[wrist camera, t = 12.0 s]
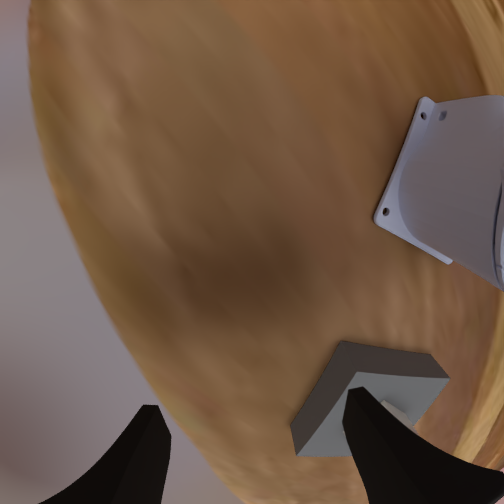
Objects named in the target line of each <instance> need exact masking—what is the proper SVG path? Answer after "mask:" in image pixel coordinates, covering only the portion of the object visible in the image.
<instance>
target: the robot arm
mask: <svg viewBox="0 0 504 504" xmlns="http://www.w3.org/2000/svg"><path fill="white" fill-rule="evenodd" d="M421 113H422V114H423V119H422V118H421ZM384 208H386V209H387V212H386V214H384V215H383V213H382V212H383V209H384ZM374 222H375V224H376V225H378V226H380V227H382V228H383V229H385V230H387V231H389V232H391V233H393V234H395V235H397V236H398V237H400V238H402V239H404V240H406V241H408V242H409V243H411V244H413V245H415V246H417V247H418V248H420V249H422V250H424V251H425V252H427V253H429V254H430V255H432V256H434V257H436V258H437V259H439V260H441V261H442V262H444V263H446V264H451V263H452V261H455V262H457V263H458V264H460V265H462V266H464V267H465V268H467V269H469V270H470V271H472V272H473V273H475V274H477V275H478V276H480V277H482V278H483V279H485V280H486V281H488V282H489V283H491V284H493V285H494V286H496V287H497V288H499V289H500V290H502V291H503V292H504V96H500V95H486V96H478V97H471V98H464V99H458V100H451V101H445V102H440V103H435V102H433V101H432V100H431V99H430V98H428V97H422V98H420V100H419V103H418V106H417V109H416V112H415V115H414V117H413V120H412V123H411V126H410V129H409V132H408V134H407V137H406V140H405V142H404V145H403V148H402V150H401V153H400V155H399V158H398V160H397V163H396V165H395V168H394V170H393V173H392V175H391V178H390V180H389V182H388V185H387V187H386V189H385V192H384V194H383V196H382V199H381V201H380V203H379V205H378V208H377V210H376V212H375V214H374ZM342 424H343V428H344V432H345V436H346V440H347V443H348V446H349V448H350V451H351V453H352V456H353V459H354V461H355V463H356V466H357V468H358V471H359V473H360V476H361V478H362V481H363V483H364V486H365V489H366V492H367V496H368V500H369V504H495V503H496V502H497V501H498V500H499V499H501V498H502V497H503V496H504V473H503V472H501V471H497V470H492V469H488V468H484V467H480V466H477V465H474V464H471V463H468V462H466V461H463V460H461V459H459V458H457V457H454V456H452V455H450V454H448V453H446V452H444V451H442V450H440V449H438V448H437V447H435V446H433V445H432V444H430V443H429V442H427V441H426V440H424V439H423V438H421V437H420V436H418V435H417V434H416V433H414V432H413V431H412V430H410V429H409V428H408V427H407V426H405V425H404V424H403V423H402V422H401V421H399V420H398V419H397V418H396V417H395V416H394V415H393V414H391V413H390V412H389V411H388V410H387V409H386V408H385V407H384V406H383V405H382V404H381V403H380V402H379V401H378V400H377V399H376V398H375V397H374V396H373V395H372V394H371V393H370V392H369V391H368V390H367V389H366V388H365V387H363V386H362V387H357V388H353V389H348V393H347V399H346V404H345V409H344V414H343V419H342ZM170 450H171V434H170V432H169V429H168V427H167V425H166V423H165V420H164V418H163V416H162V413H161V411H160V409H159V406H158V405H143V406H142V407H141V408H140V409H139V411H138V412H137V414H136V415H135V416H134V418H133V419H132V420H131V422H130V423H129V425H128V426H127V427H126V428H125V430H124V431H123V432H122V434H121V435H120V436H119V437H118V439H117V440H116V441H115V442H114V444H113V445H112V446H111V447H110V448H109V449H108V451H107V452H106V453H105V454H104V455H103V456H102V457H101V459H100V460H98V461H97V462H96V464H95V465H94V466H92V467H91V468H90V469H89V470H88V471H87V472H86V473H85V474H84V475H82V476H81V477H80V478H79V479H77V480H76V481H75V482H74V483H72V484H71V485H70V486H68V487H67V488H65V489H64V490H63V491H61V492H59V493H57V494H56V495H54V496H52V497H51V498H49V499H47V500H45V501H43V502H41V503H39V504H161V500H162V495H163V490H164V484H165V480H166V475H167V470H168V465H169V460H170Z"/></svg>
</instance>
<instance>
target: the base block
mask: <svg viewBox="0 0 504 504" xmlns="http://www.w3.org/2000/svg"><path fill="white" fill-rule="evenodd" d="M449 380H450V377H449V376H448V375H447V374H446V372H445V371H444V370H443V369H442V367H441V366H440V365H439V364H438V363H437V361H436V360H435V359H434V358H433V357H432V356H431V355H430V354H422V353H415V352H407V351H400V350H394V349H387V348H381V347H374V346H368V345H363V344H357V343H351V342H346V341H340V343H339V345H338V347H337V349H336V351H335V352H334V354H333V356H332V358H331V360H330V361H329V363H328V365H327V367H326V369H325V370H324V372H323V374H322V376H321V377H320V379H319V381H318V382H317V384H316V386H315V387H314V389H313V391H312V392H311V394H310V396H309V397H308V399H307V400H306V402H305V404H304V405H303V407H302V408H301V410H300V411H299V413H298V415H297V416H296V418H295V419H294V421H293V422H292V424H291V425H290V426H291V431H292V437H293V442H294V447H295V452H296V456H312V457H335V456H352V453H351V451H350V448H349V446H348V443H347V440H346V437H345V435H344V432H343V431H344V428H343V424H342V419H343V414H344V409H345V404H346V399H347V393H348V389H353V388H357V387H362V386H363V387H365V388H366V389H367V390H368V391H369V392H370V393H371V394H372V395H373V396H374V397H375V398H376V399H377V400H378V401H379V402H380V403H381V402H382V401H383V400H385V401H387V402H388V403H390V404H391V405H393V406H394V407H396V408H397V409H399V410H400V411H402V412H403V413H405V414H406V415H407V417H408V419H409V420H410V422H411V423H412V425H413V426H414V425H415V424H416V422H417V421H418V420H419V419H420V418H421V416H422V415H423V414H424V413H425V412H426V410H427V409H428V408H429V407H430V405H431V404H432V403H433V402H434V400H435V399H436V398H437V396H438V395H439V394H440V392H441V391H442V390H443V388H444V387H445V385H446V384H447V383H448V381H449Z"/></svg>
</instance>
